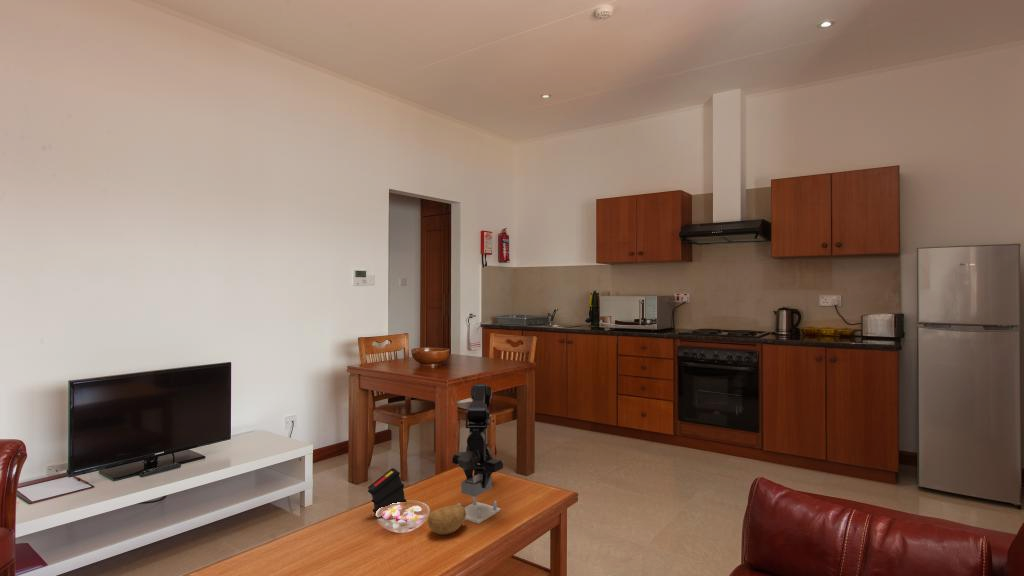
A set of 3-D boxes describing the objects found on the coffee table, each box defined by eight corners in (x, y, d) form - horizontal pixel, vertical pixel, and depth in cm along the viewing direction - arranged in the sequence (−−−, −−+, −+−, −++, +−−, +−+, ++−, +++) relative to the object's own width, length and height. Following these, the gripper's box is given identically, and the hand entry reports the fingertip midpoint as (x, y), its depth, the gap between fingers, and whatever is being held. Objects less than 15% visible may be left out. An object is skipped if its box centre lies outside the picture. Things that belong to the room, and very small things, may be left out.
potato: (473, 529, 173) (473, 505, 173) (439, 544, 163) (439, 518, 163) (455, 520, 179) (455, 497, 180) (420, 534, 169) (421, 509, 170)
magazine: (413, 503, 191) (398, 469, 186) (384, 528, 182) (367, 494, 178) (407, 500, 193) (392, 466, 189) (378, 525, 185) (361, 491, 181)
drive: (478, 484, 192) (478, 472, 192) (492, 487, 188) (492, 475, 188) (461, 493, 183) (461, 480, 183) (475, 496, 180) (475, 484, 180)
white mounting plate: (475, 503, 194) (475, 493, 194) (500, 510, 188) (500, 499, 188) (453, 515, 183) (453, 504, 183) (478, 523, 177) (478, 512, 177)
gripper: (442, 443, 185) (441, 487, 184) (484, 452, 174) (484, 499, 174) (462, 435, 194) (462, 478, 194) (504, 444, 184) (503, 488, 183)
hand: (477, 486), depth 186 cm, fingers closed on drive, 6 cm apart
